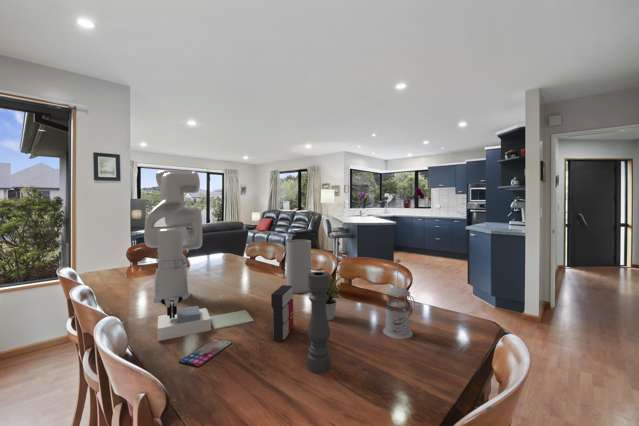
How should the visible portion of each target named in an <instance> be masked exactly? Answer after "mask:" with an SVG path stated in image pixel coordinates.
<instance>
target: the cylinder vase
mask: <svg viewBox="0 0 639 426" xmlns="http://www.w3.org/2000/svg"><path fill="white" fill-rule="evenodd" d="M285 243H286V245H285V247H286V250H285V251H286V252H285V253H286V263H285V264H286V285H290V286H292V288H293V294H305V293H308V292H310V290H309V287H308V273H310V272H312V240H310V239H290V240H288V239H287V240H286V241H285Z"/></svg>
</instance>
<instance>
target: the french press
mask: <svg viewBox="0 0 639 426" xmlns="http://www.w3.org/2000/svg"><path fill="white" fill-rule="evenodd" d="M394 263H396V264H397V265H396V266H397V269H396V270H397V272H396V273H397V276H396V277H397V278H396V279H397V281H396V283H397V284H396V285H397V286H392V287H390V288H387V289H385V293H386V295H388V296H391V297H394V298H397V299H393V300H388V301H387V302H386V306H385V327H383V329H382V333H383V335H385V336H388V337H389V338H392V339H395V340H396V339H397V340H398V339H399V340H405V339H409V338H411V337H412V336H413V331H412V330H411V329H410V322H411V319H410V317H411V316H412V315H413V313H414V312H415V308H416V301H415V298H414V297H413V296H411V292H410V291H409V290H408V289H406V288H404V287H402V286H399V263H401V259H400V258H396V259H395V260H394ZM399 298H404V299H406V300H409V299H410V305H409V303H407V301H404V300H399ZM411 298H412V299H411ZM412 300H413V302H412ZM412 303H413V304H412ZM409 306H410V307H409ZM412 306H413V310H412V312H411V313H410V311H411V309H412ZM391 308H392V309H391Z"/></svg>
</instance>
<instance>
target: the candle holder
mask: <svg viewBox="0 0 639 426" xmlns="http://www.w3.org/2000/svg"><path fill="white" fill-rule="evenodd" d="M329 276H330V273H329V272H327V271H311V272H310V273H308V287H309V290H310V291H309V292H310V293H311V294H310V295H309V296H308V300H309V301H310V302H311V313H310V318H309V323H308V327H307V336H308V339H309V341H310V343H311V344H310V346H309V347H308V349H307V351H308V353H307V364H306V365H307V369H308V371H309V372H310V373H313V374H316V375H318V374H319V375H320V374H325V373H328V372H329V371H330V370H331V367H332V364H331V363H332V359H331V357H332V355H331V352H330V347H329V345H328V341H329V339H330V338H331V328H330V324H329V320H328V319H327V314H326V301H327V300H328V295H326V293H327V290H328V287H329Z"/></svg>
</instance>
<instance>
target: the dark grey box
mask: <svg viewBox="0 0 639 426" xmlns="http://www.w3.org/2000/svg"><path fill="white" fill-rule="evenodd" d="M293 294H294V293H293V288H292V286H290V285H287V284H282V285H281V286H280V287H277V289H276V290H275V291H274V292H273V293H271V295H270V296H271V299H270V300H271V304H270V305H271V307H272V310H273V311H272V312H273V316H272V318H273V323H272V324H273V326H272V327H273V341H275V342H283V341H284V340H285V339H286V338H287V337H288V335H289V333H290V332H291V330H292V329H293V327H294V299H293V297H294V295H293Z"/></svg>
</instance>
